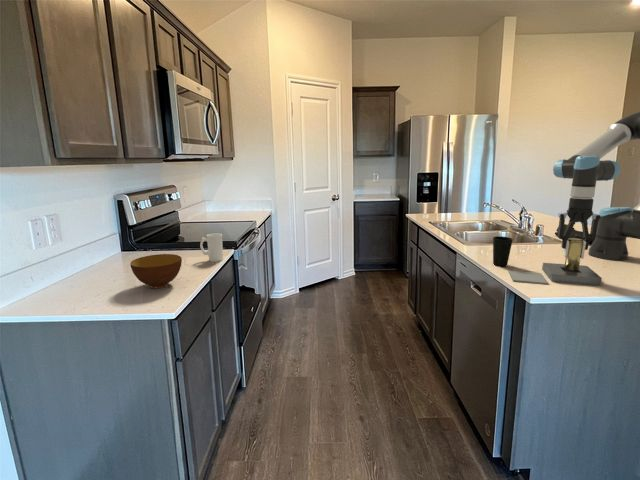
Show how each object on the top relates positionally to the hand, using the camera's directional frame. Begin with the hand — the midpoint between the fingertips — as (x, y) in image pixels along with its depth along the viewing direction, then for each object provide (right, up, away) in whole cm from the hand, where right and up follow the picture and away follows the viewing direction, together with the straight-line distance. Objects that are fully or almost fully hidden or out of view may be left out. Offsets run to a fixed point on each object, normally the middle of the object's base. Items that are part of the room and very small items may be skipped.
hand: (573, 257), depth 151 cm
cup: (-20, -4, +18) cm, 28 cm away
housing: (0, -8, +2) cm, 8 cm away
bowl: (-160, -11, -5) cm, 160 cm away
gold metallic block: (0, -5, +1) cm, 5 cm away
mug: (-149, -3, +29) cm, 152 cm away
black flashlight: (+41, +6, +62) cm, 75 cm away
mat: (-17, -8, +1) cm, 19 cm away
